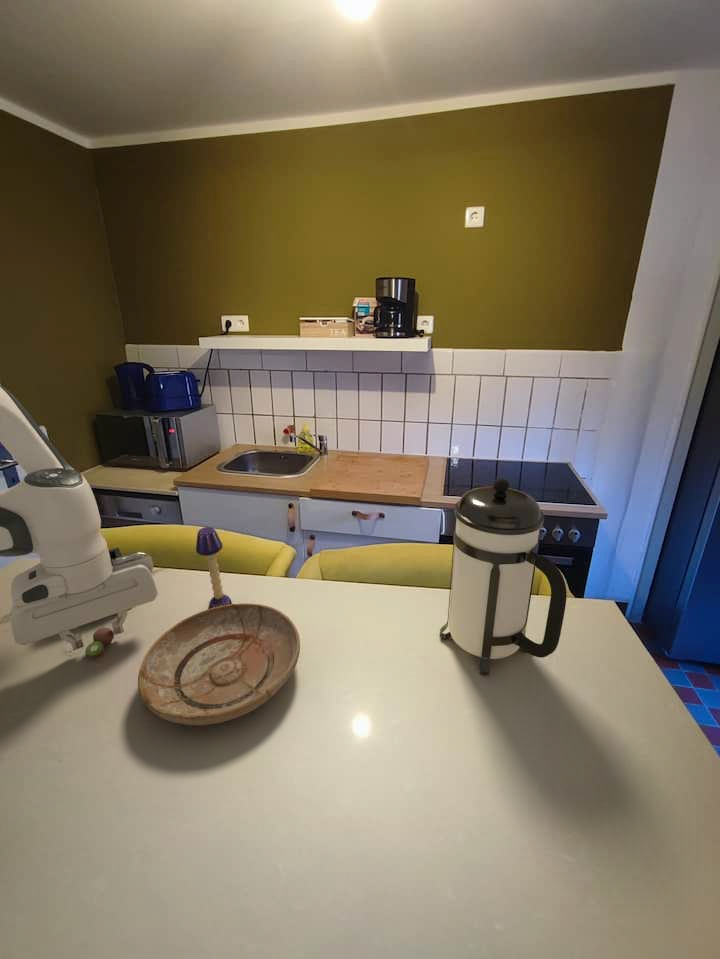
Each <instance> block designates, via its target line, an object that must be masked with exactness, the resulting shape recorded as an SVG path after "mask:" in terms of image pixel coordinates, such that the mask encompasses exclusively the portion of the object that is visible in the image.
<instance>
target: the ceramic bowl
mask: <svg viewBox="0 0 720 959" xmlns="http://www.w3.org/2000/svg"><path fill="white" fill-rule="evenodd" d="M300 651H301V639H300V634H299V632H298V629H297V627H296V625H295V624H294V622H293V621H292V620H291V619H290V617H288V615H286V614H285V613H283V612H282V611H280V610H279V609H276V608H274V607H272V606H269V605H264V604H261V603H260V604H258V603H244V602H243V603H232V604H229V605H223V606H219V607H214V608H211V609H209V608H208V609H206V610H202V611H199V612H197V613H195V614H192V615H191V616H188V617H187V618H184V619H183V620H181V621H179V622H177V623H176V624H175V625H173V626H172V627H171V628H169V629H168V630H166V631H165V632H164V633H163V634H161V635H160V637H158V639H156V641H155V642H153V644H152V645H151V647H150V648H149V649H148V651H147V653H145V655H144V657H143V659H142V662H141V664H140V667H139V672H138V676H137V687H138V692H139V694H140V697H141V701H142V702H143V703H144V705H145V706H146V708H147V709H148V710H149V711H151V712H152V713H153V714H154V715H156V716H158V717H159V718H161V719H163V720H165V721H168V722H171V723H174V724H179V725H186V726H209V725H217V724H221V723H225V722H228V721H232V720H234V719H237V718H239V717H242V716H244V715H246V714H249V713H251V712H252V711H254V710H256V709H257V708H259V707H260V706H263V705H264V704H266V703H267V702H268V701H269V700H270V699H271V698H272V697H273V696H274V695H276V694H277V693H278V692H279V691H280V690H281V689H282V688H283V687H284V686H285V684H286V683H287V682H288V680H289V679H290V678H291V676H292V674H293V672H294V671H295V669H296V666H297V664H298V661H299V657H300V653H301V652H300Z"/></svg>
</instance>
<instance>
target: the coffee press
mask: <svg viewBox="0 0 720 959" xmlns="http://www.w3.org/2000/svg"><path fill="white" fill-rule="evenodd" d="M454 516H455V518H456V523H455V526H454V530H453V542H452V556H451V570H450V582H449V583H450V584H449V597H448V610H447V621H446V623H445V624H444V625H443V626H441V628H440V629H439V638H440V639H442V640H448V639H450V638H452V639H453V641H454V642H455V643H456V645H457V646H458V647H460V648H461V649H462V650H463V651H465V652H467V653H468V654H471V655H473V656H475V657H479V658H480V660H479V661H480V662H479V674H482V675H490V666H491V660H497V659H498V660H499V659H505V658H507V657H510V656H512V655H513V654H515V653H516V652H517V651H518V650H520V651H521V652H522V653H527V654H529V655H531V656H533V657H536V658H543V659H544V658H547V657H548V656H550V655H552V654H553V653H554V652H555V651H556V650H557V648H558V646H559V643H560V638H561V634H562V629H563V628H562V627H563V622H564V618H565V617H564V616H565V612H566V607H567V606H566V605H567V598H568V597H567V594H568V593H567V586H566V581H565V578H564V576H563V573H562V572H561V570H560V569H559V567H558V566H557V565H556V564H555V563H554V562H553V561H552V560H551V559H549V557H548V558H547V557H546V556H544V555H543V554H541V555H540V554H539V553H538V551H539V546H540V529H541V528H542V527H543V525H544V521H545V515H544V512H543V511H542V510H541V507H540V505H539V503H538V502H537V501H536V500H535V499H534V498H533V497H532V496H530V495H529V494H527V493H525V492H522V491H520V490H517V489H515V488H511V487H510V483H509V481H508V480H507V479H506V478H504V477H498V478H496V479H495V480H494V482H493V483H492V486H482V487H476V488H473V489H470V490H468V491H466V492H465V493H464V494H463V495H462V496H461V497H460V499H459V500H458V501H457V502H456V503H455V504H454ZM536 569H538V570H539V571H540V572H542V574H543V575H544V576H545V577H546V579H547V580H548V584H549V586H550V600H549V606H548V612H547V617H546V625H545V628H544V634H543V639H542V642H541V643H537V642H534V641H533V640H531V639H529V637H527V635H526V632H527V625H528V619H529V612H530V605H531V600H532V592H533V586H534V578H535V572H536ZM447 629H448V630H449V632H446V633H444V632H445V631H446V630H447Z"/></svg>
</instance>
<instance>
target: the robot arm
mask: <svg viewBox="0 0 720 959" xmlns="http://www.w3.org/2000/svg"><path fill="white" fill-rule="evenodd" d="M0 443H1V445H2V446H3V447H4V448H5V450H7V452H8V453H9V454H10V455H11V457H12V458H13V459H14V460H15V461H16V462H17V464H18V465H19V467H21V469H22V470H23V471H24V472H25V474H26V475H24V476H23V478H21V480H20V481H19V482H18V483H17V484H15V485H13V486H11V487H9V488H5V489H2V490H1V491H0V557H2V558H9V557H11V558H12V557H21V556H27V555H30V554H33V553H34V554H36V555H38V556H39V560H40V562H39V563H36V564H35V565H33V566H31V567H30V568H28V569H26V570H24V571H22V572H20V573H19V574H17V575H15V576H14V577H13V578H12V581H11V583H10V584H11V585H10V599H11V606H10V628H11V632H12V633H11V634H12V637H13V640H14V641H15V643H17V644H19V645H21V646H27V645H30V644H32V643H35V642H37V641H40V640H44V639H46V638H49V637H52V636H55V635H59V638H60V639H62V640H63V641H65V642H67V643H69V644H70V645H71V648H72V650H73V651H77V650H79V649H82V648H84V647H85V646H84V641H83V637H82V633H78V634H74V633H73V632H72V631H71V630H72V629H75V628H78V627H81V626H84V625H87V624H89V623H93V622H96V621H98V620H102V619H104V618H107V617H110V616H113V615H116V614H117V618H116V619H115V621H112V622H111V627H112V631H113V632H114V636H117V635H119V634H123V633H124V632H125V630H124V626H123V625H124V623H125V621H126V618H127V616H128V611H127V610H130V609H132V608H136V607H138V606H142V605H145V604H147V603H151V602H153V601H155V600H156V598H157V597H158V595H159V592H158V587H157V584H156V582H155V579H154V577H153V574H152V572H153V570H154V561H153V557H152V556H151V555H150V554H149V553H145V552H141V551H137V552H133V553H132V554H128V555H122V557H118V558H115V559H110V555H109V551H108V550H109V547H108V543H107V540H106V539H105V537H104V536H103V534H102V531H101V530H102V528H101V527H102V519H101V515H100V512H99V507H98V504H97V500H96V497H95V494H94V492H93V490H92V487H91V486H90V484H89V482H88V481H87V479H86V478H85V476H84V475H83V474H82V473H81V472H79V471H77V470H76V469H74V468H73V467H72V466H71V465H70V464H69V463H68V462H67V460H66V459H65V458H64V457H63V456H62V455H61V454H60V452H59V451H58V450H57V448H56V446H54V444H53V443H52V442H51V440H50V439H49V437H48V436H47V435H46V434H45V432H44V431H43V430H42V429H41V427H40V426H39V425H38V424H37V423H36V421H35V419H34V418H33V417H32V416H31V415H30V413H29V412H28V411H27V409H25V407H24V406H23V404H22V403H21V402H20V401H19V400H18V399H17V397H15V395H14V394H13V393H11V391H9V390H8V389H7V388H5V387H4V386H2V385H1V384H0Z"/></svg>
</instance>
